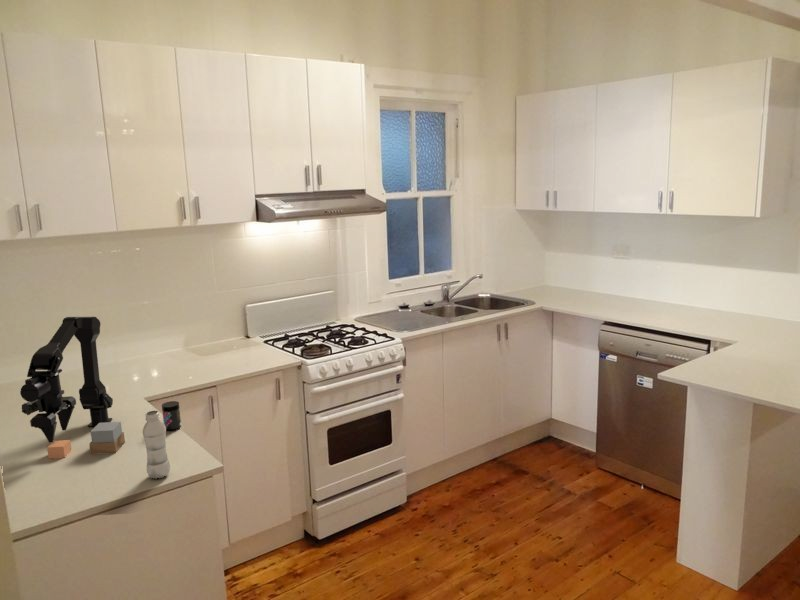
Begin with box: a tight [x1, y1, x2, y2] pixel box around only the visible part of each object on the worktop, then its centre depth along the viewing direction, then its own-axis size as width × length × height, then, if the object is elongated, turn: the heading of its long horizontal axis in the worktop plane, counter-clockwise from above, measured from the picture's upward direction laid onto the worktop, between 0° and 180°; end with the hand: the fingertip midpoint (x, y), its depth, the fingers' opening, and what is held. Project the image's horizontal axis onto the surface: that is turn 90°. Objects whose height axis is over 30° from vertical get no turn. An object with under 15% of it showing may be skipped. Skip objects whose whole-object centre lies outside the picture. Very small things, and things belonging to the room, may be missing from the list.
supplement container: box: [161, 400, 182, 432], centre depth 222 cm, size 6×6×9 cm
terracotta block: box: [46, 439, 72, 459], centre depth 204 cm, size 5×5×4 cm
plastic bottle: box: [142, 410, 171, 480], centre depth 186 cm, size 6×7×20 cm
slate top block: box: [90, 421, 123, 443], centre depth 207 cm, size 7×7×4 cm
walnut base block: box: [89, 431, 126, 455], centre depth 208 cm, size 8×8×4 cm
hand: (57, 436), depth 203 cm, fingers open, 9 cm apart
